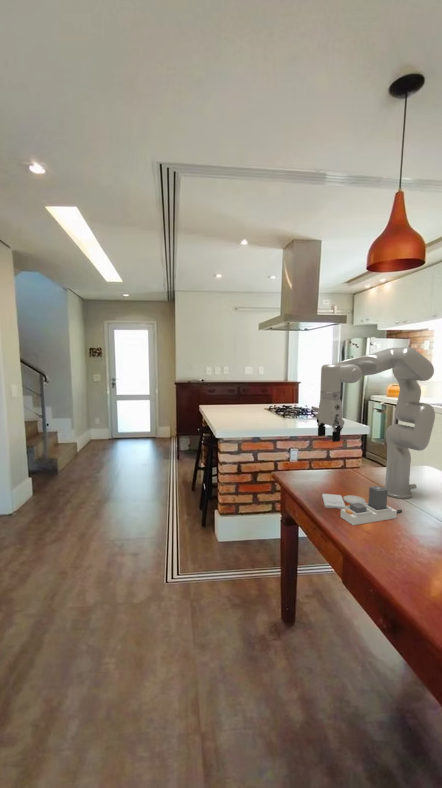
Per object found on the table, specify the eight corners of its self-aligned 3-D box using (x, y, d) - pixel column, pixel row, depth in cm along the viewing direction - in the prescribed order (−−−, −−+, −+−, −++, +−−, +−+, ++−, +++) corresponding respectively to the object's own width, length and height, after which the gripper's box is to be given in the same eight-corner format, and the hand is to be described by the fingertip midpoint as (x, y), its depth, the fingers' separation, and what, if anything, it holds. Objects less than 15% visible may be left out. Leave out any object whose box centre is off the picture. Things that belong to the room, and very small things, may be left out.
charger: (377, 505, 132) (378, 485, 132) (386, 510, 128) (387, 489, 127) (368, 506, 131) (369, 486, 130) (376, 511, 127) (378, 490, 126)
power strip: (394, 508, 137) (394, 495, 136) (408, 516, 130) (409, 502, 130) (340, 516, 129) (341, 503, 128) (352, 525, 122) (353, 511, 122)
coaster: (355, 495, 150) (355, 494, 150) (370, 503, 142) (370, 502, 142) (338, 497, 147) (338, 496, 147) (352, 505, 139) (352, 505, 139)
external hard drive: (341, 498, 148) (346, 510, 136) (321, 497, 149) (324, 508, 137) (341, 495, 148) (346, 506, 136) (322, 493, 149) (325, 504, 137)
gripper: (352, 398, 125) (350, 443, 127) (325, 393, 142) (324, 433, 143) (335, 398, 123) (333, 444, 125) (309, 394, 140) (308, 434, 141)
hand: (328, 438), depth 134 cm, fingers open, 9 cm apart
